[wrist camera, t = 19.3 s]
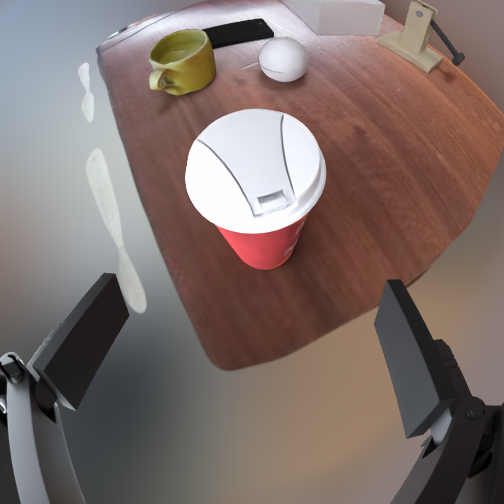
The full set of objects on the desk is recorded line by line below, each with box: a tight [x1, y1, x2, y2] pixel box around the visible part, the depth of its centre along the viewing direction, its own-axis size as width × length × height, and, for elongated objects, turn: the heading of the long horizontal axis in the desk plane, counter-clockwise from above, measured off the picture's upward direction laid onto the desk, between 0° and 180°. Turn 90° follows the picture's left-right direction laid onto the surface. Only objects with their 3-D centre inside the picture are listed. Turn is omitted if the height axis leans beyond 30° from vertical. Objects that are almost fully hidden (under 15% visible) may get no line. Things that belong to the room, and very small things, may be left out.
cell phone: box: [203, 19, 274, 48], centre depth 41 cm, size 9×18×1 cm, turn 104°
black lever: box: [421, 5, 465, 66], centre depth 28 cm, size 13×6×2 cm, turn 45°
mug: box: [148, 29, 216, 95], centre depth 34 cm, size 12×10×10 cm
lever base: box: [377, 0, 443, 74], centre depth 31 cm, size 12×10×13 cm
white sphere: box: [243, 37, 309, 82], centre depth 32 cm, size 10×7×7 cm
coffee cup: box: [186, 109, 326, 270], centre depth 21 cm, size 8×8×15 cm
